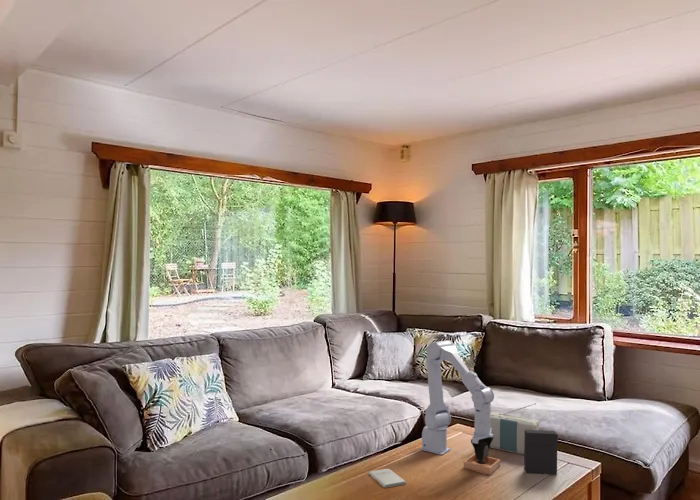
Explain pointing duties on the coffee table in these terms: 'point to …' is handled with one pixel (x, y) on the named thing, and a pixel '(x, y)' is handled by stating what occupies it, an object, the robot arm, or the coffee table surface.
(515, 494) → the coffee table surface
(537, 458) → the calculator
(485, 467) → the dish
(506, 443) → the stereo radio cassette player
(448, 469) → the coffee table surface
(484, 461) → the cell
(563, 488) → the coffee table surface
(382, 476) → the external hard drive
